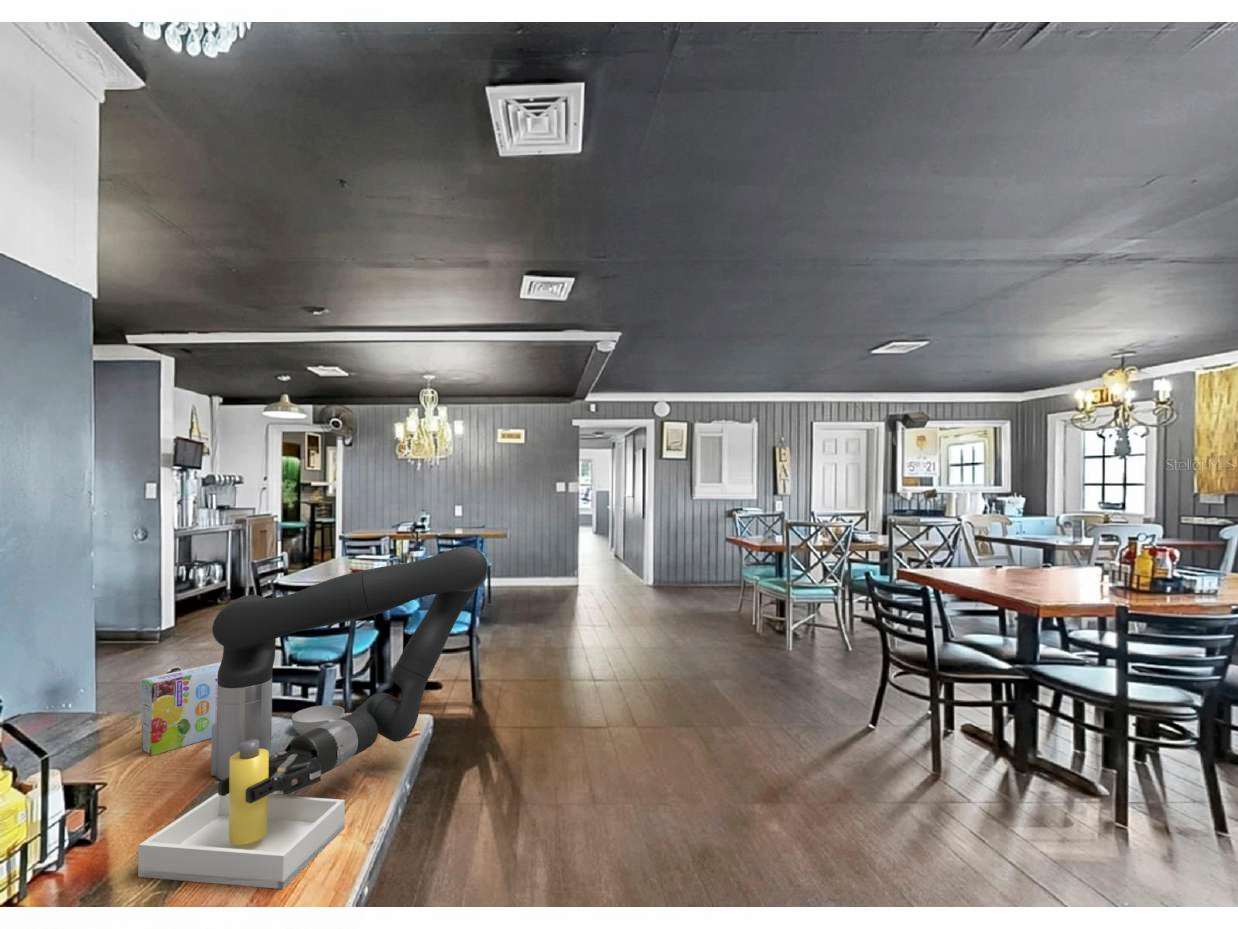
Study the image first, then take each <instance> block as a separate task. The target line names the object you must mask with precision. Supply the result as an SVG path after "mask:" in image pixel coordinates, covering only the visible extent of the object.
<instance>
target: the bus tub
mask: <svg viewBox="0 0 1238 929" xmlns="http://www.w3.org/2000/svg"><path fill="white" fill-rule="evenodd" d="M345 801H346V800H345V799H337V798H327V797H326V798H323V797H310V796H309V797H307V796H293V795H277V794H268V833H267V834H266V835H265V836H264V837H263V838H261V839H259V840H257V841H255V842H252V843H248V844H242V845H236V844H232V843H230V842H229V794H227V795H225V796H220V795H218V792H217V793H215V794H213V795H212V796H210V797H208V799H206V800H204V801H203V802H201V803H200V804H198V805H197V806H195V807H194V808H192V809H191V810H189V811H188V812H186V813H185V814H183V815H182V816H180V817H178V818H177V819H176V820H174V821H173V822H171V823H170V824H168V825H166V826H165V827H164V828H162V829H161V830H158V831H157V832H155V833H154V834H153V835H151V836H149V837H148V838H147V839H145V840H144V841H142V842H141V843H140V844H138V860H137V862H138V865H137V866H138V870H137V871H138V872H137V873H138V874H137V877H139V878H145V879H146V878H148V879H158V880H159V879H161V880H170V881H171V880H172V881H183V882H184V881H186V882H195V883H196V882H197V883H206V884H207V883H208V884H217V885H218V884H219V885H231V886H240V887H241V886H243V887H245V886H246V887H255V888H256V887H257V888H267V889H278V890H279V889H280V890H284V889H285V888H286V887H287V886H288V885H289V884H290V882H292V881H293V880H294V879H295V878H297V876H298V875H299V874H300V873H301V872H302V871H303V870H304V869H305V868H306V867H307V866H308V865H309V864H310V862H312V861H313V860H314V859H315V858H316V857H317V856H318V855H319V854H320V853H321V852H322V851H323V850H324V849H325V848H326V847H327V846H328V845H329V844H330V843H331V842H332V841H333V840H334V839H335V838H336V837H337V836H338V835H339V834H340V833H341V832H342V831H343V830H344V829H345V820H346V819H345V815H346V813H345V812H346V811H345V810H346V802H345ZM342 829H343V830H342Z"/></svg>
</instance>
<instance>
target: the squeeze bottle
mask: <svg viewBox="0 0 1238 929" xmlns="http://www.w3.org/2000/svg"><path fill="white" fill-rule="evenodd" d="M268 773H269V751H268V750H266V749H259V740H258V739H249V740H245V741H243V742H241V743H240V752H238V753H236V754H234V755H232V756H231V757H230V768H229V842H230V843H232V844H236V845H242V844H248V843H252V842H255V841H257V840H259V839H261V838H263V837H264V836H265V835H266V834H267V833H268V795H269V794H268V795H266V796H264V797H263V798H261V799H259V800H257V801H255V802H253V803H247V802H246V790H247V788H248V787H250V786H252V785H254V784H256V783H258V782H261V781H263V780H264V779H266V778H268Z"/></svg>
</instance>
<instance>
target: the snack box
mask: <svg viewBox="0 0 1238 929" xmlns="http://www.w3.org/2000/svg"><path fill="white" fill-rule="evenodd" d="M220 664H221V661H219V662H214V663H210V664H207V665H201V666H196V667H191V668H187V669H181V670H177V671H174V672H169V673H164V674H159V675H155V676H150V677H146V678H142V680H141V750H142V751H143V752H144V753H146V754H148V755H149V756H156V755H160V754H162V753H166V752H169V751H172V750H175V749H180V748H182V747H187V746H190V745H193V744H197V743H199V742H200V743H201V742H203V741H206V740H212V725H213V724H215V723H217V691H218V670H219V667H220Z"/></svg>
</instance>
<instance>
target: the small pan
mask: <svg viewBox="0 0 1238 929" xmlns="http://www.w3.org/2000/svg"><path fill="white" fill-rule="evenodd" d="M343 717H345V709H344V708H343V707H341V706H338V705H333V704H331V705H329V704H328V705H325V704H324V705H316V706H310V707H307V708H303V709H301V710H298V711H296V712H295V713H293V714H292V716H291V723H292V726H293V728H294V730H295V731H296V733H297V734H299V735H301V734H304V733H306V732H308V731H310V730H313V729H315V728H317V727H319V726H322V725H324V724H326V723H329V722H333V721H336V720H338V719H341V718H343Z"/></svg>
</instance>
